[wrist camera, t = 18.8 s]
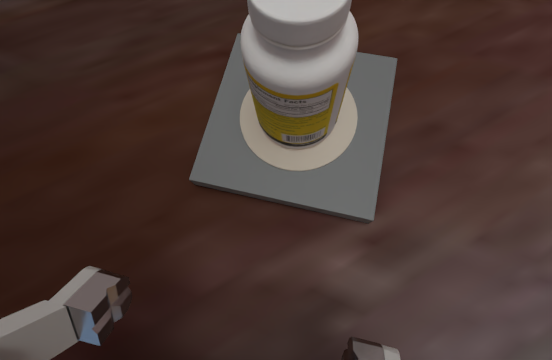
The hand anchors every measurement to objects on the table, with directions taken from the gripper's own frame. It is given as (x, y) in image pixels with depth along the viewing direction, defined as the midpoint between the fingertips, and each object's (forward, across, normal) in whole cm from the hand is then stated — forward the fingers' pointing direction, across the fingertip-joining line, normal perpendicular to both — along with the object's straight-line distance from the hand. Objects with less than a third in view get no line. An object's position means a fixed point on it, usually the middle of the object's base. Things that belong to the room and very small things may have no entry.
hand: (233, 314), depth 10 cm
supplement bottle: (+13, 0, -4) cm, 14 cm away
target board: (+14, 0, -3) cm, 14 cm away
